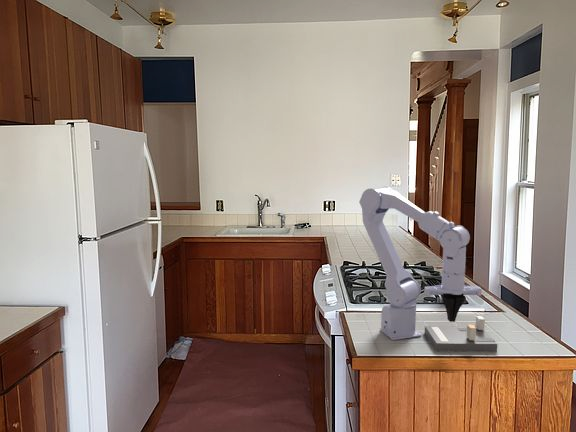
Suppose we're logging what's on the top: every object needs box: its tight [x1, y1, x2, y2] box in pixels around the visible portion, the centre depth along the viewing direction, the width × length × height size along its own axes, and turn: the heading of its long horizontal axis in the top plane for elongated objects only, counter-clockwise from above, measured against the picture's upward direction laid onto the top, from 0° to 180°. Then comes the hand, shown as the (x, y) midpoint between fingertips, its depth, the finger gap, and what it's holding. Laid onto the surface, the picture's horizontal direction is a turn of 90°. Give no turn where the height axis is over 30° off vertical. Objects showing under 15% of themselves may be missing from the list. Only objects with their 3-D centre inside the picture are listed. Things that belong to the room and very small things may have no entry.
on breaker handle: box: [475, 315, 486, 331], centre depth 127 cm, size 2×2×3 cm, turn 178°
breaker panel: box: [424, 325, 498, 353], centre depth 125 cm, size 16×12×2 cm
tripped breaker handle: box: [466, 324, 476, 340], centre depth 121 cm, size 2×2×3 cm, turn 178°
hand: (451, 320), depth 120 cm, fingers closed
